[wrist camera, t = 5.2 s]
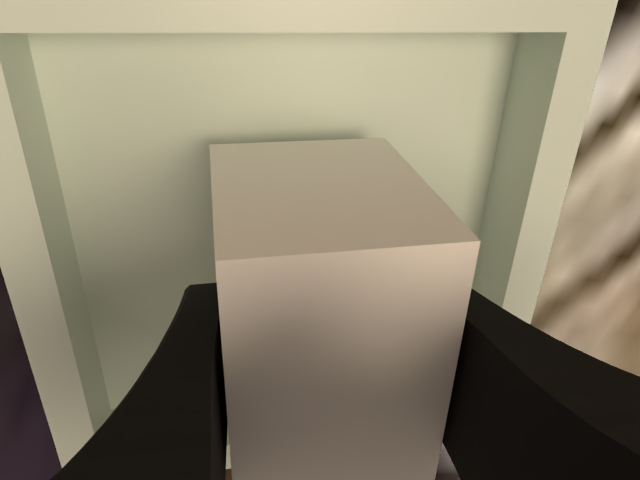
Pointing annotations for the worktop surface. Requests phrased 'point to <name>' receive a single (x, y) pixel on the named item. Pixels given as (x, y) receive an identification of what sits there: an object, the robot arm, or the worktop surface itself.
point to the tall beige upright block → (336, 309)
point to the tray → (255, 127)
